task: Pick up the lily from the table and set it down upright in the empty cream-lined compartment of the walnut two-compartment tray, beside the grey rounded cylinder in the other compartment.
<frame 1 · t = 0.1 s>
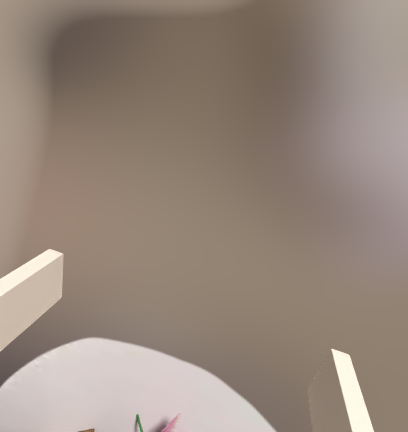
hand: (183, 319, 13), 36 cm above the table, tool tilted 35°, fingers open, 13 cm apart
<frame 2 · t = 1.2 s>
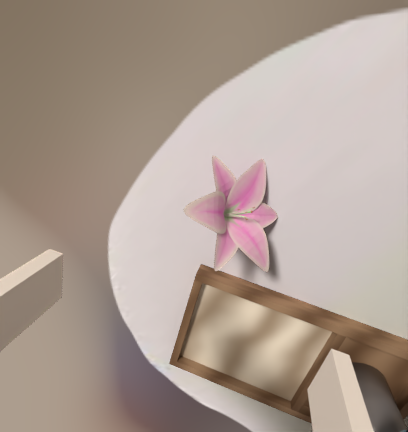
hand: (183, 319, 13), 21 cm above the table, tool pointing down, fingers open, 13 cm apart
tray: (288, 350, 38), on the table
grey rounded cylinder: (356, 383, 36), point 1 cm above the table, touching tray
lily: (242, 201, 32), on the table
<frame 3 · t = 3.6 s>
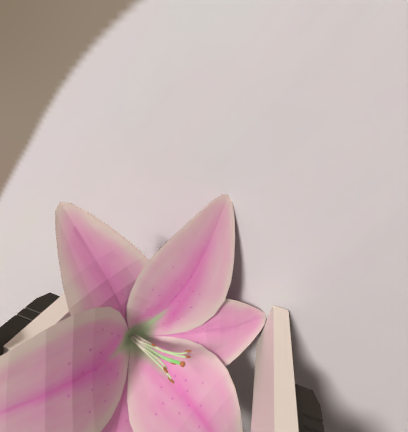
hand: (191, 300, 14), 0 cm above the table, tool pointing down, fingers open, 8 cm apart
lily: (189, 282, 15), on the table, touching gripper
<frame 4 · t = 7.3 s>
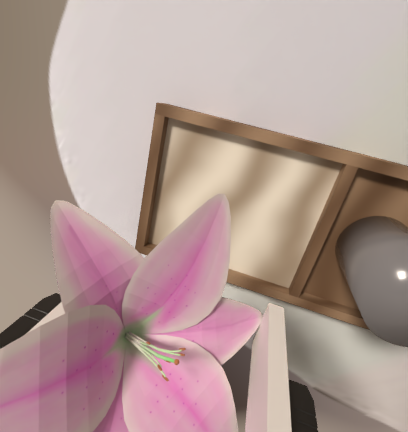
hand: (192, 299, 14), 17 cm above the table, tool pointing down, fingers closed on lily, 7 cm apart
tray: (283, 218, 29), on the table
grey rounded cylinder: (373, 248, 27), point 1 cm above the table, touching tray
lily: (185, 281, 15), point 17 cm above the table, touching gripper
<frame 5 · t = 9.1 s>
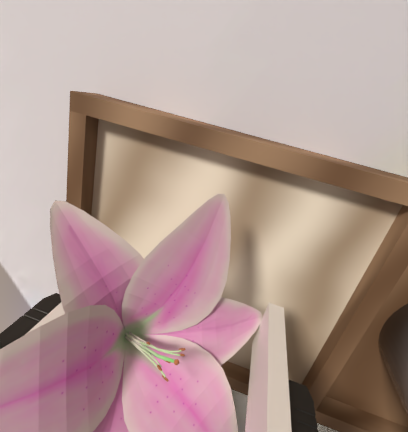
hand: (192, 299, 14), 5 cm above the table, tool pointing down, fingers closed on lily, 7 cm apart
tray: (292, 283, 18), on the table
lily: (185, 282, 15), point 4 cm above the table, touching gripper
when the fingers open (2 cm above the table, at t = 10.4 s): lily stays where it is, resting on tray.
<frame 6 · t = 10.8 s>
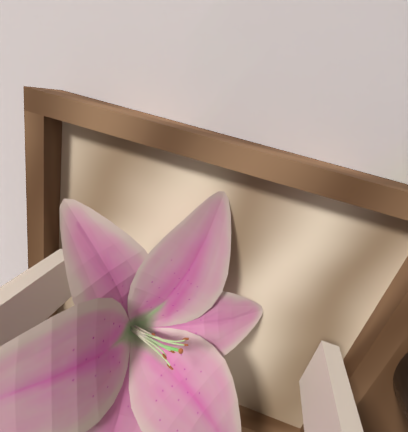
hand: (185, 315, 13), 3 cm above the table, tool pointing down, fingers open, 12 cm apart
tray: (292, 310, 16), on the table
lily: (188, 277, 15), point 1 cm above the table, touching tray
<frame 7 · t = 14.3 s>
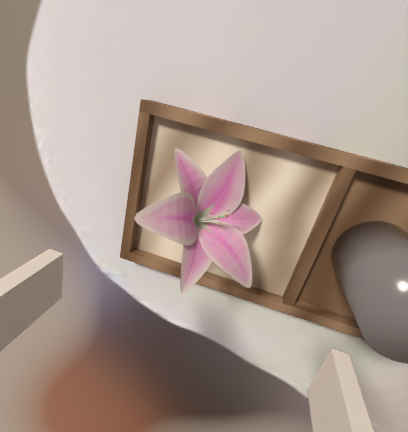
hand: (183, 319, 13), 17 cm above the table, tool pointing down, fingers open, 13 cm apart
tray: (277, 223, 28), on the table
grey rounded cylinder: (371, 255, 26), point 1 cm above the table, touching tray
lily: (219, 202, 27), point 1 cm above the table, touching tray
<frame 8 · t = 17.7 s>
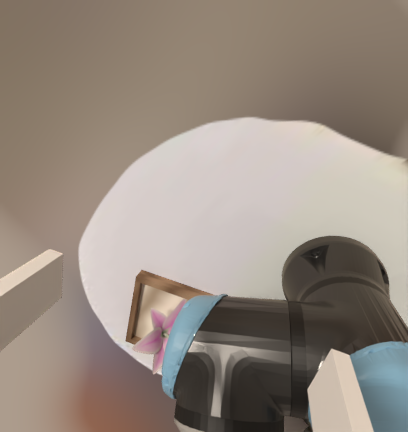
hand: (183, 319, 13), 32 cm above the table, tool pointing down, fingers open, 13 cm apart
tray: (206, 328, 54), on the table
lily: (176, 318, 53), point 1 cm above the table, touching tray
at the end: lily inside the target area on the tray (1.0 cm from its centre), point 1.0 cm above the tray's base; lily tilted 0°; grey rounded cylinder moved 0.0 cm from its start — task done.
